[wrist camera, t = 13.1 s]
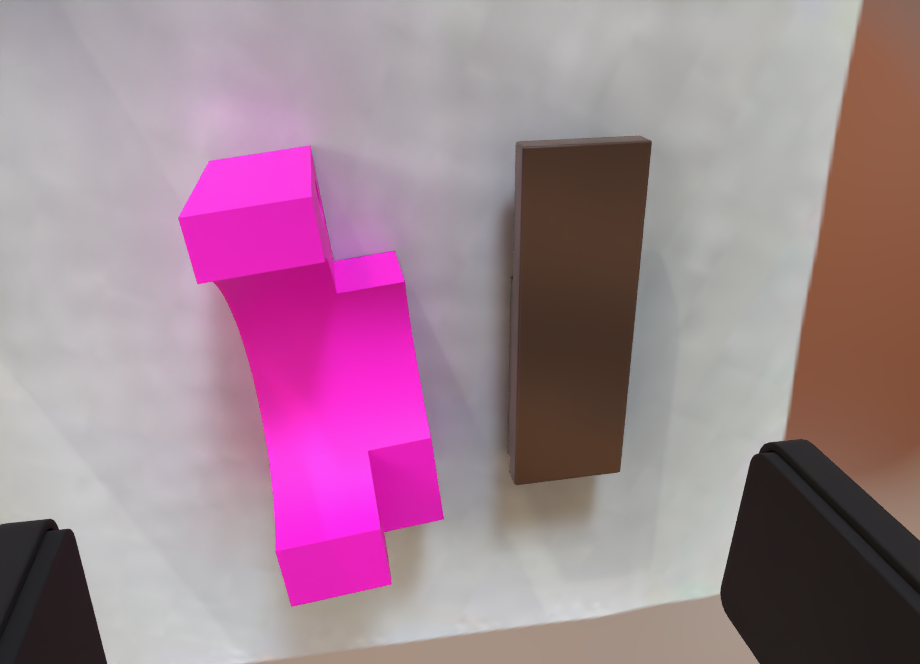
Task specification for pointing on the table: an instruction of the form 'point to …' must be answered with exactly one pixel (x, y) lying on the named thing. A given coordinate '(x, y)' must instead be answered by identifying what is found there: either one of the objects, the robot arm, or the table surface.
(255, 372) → the toy block
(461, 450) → the table surface
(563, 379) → the brown rectangular block
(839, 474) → the robot arm
